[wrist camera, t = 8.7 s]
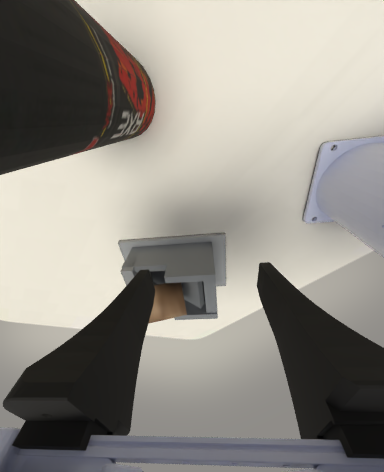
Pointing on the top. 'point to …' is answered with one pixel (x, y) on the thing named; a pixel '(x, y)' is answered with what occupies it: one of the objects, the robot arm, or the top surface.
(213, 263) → the socket
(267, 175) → the top surface
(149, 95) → the deodorant
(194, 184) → the top surface
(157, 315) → the dowel
